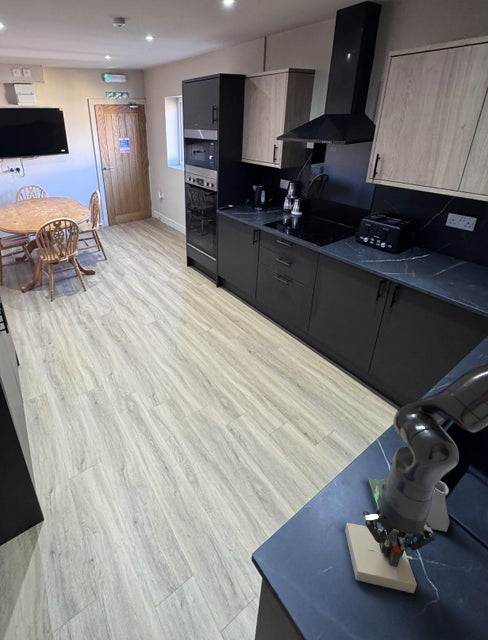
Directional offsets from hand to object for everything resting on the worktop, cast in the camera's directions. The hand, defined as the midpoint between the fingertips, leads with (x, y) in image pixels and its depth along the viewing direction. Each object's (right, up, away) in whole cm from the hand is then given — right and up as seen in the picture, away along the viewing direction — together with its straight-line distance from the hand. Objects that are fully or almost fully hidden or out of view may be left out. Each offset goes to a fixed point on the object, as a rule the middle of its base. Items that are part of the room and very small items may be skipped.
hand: (389, 552), depth 69 cm
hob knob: (0, 0, 0) cm, 0 cm away
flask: (+16, 0, +10) cm, 19 cm away
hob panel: (-2, -3, +1) cm, 4 cm away
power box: (+7, +1, +12) cm, 14 cm away
